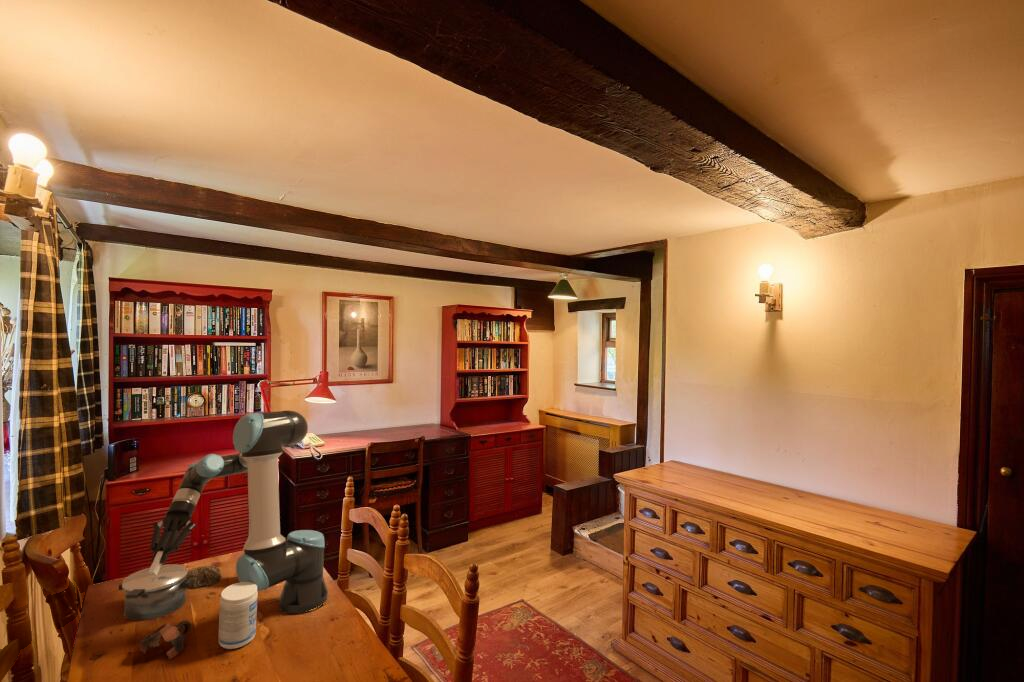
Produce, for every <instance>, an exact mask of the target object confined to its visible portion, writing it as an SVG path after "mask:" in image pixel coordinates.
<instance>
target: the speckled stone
mask: <svg viewBox="0 0 1024 682" xmlns="http://www.w3.org/2000/svg"><path fill="white" fill-rule="evenodd" d="M222 577H223V575H222V573H221V570H220V568H219V567H218V566H216V565H211V566H210V565H205V566H204V565H203V566H197V567H195V568H192V569H188V572H187V576H186V579H194V583H193V585H192V586H190V587H189V588H188V589H197V588H199V587H202V586H203V587H204V586H207V587H210V586H212V585H215V584H216V583H218V581H220V580H221V579H222ZM217 580H218V581H217Z"/></svg>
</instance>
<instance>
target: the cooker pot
mask: <svg viewBox="0 0 1024 682" xmlns="http://www.w3.org/2000/svg"><path fill="white" fill-rule="evenodd" d="M193 583H194V579H186V578H185V579H183V580H182V581H180V582H179V583H177V584H175V585H173V586H170V587H167V588H164V589H161V590H157V591H152V592H145V593H143V594H142V595H141V596H139V597H138V598H130V599H126V595H127V594H129V593H130V592H126V591H124V590H123V589H122V582H121V583H120V584H119V585H118V587H117V588H118V589H117V590H118V591H124V606H123V607H124V610H123V616H124V615H125V616H124V618H125V617H126V618H125V619H126V620H129V619H130V621H134V620H136V621H137V620H142V621H149V620H148V619H150V620H155V619H158V618H161V617H165V616H167V615H169V614H172V613H174V612H176V611H177V610H179V609H180V608H182V607H183V606H184V604H185V602H186V597H187V595H186V593H187V589H190V588H189V587H190V586H192V585H193ZM154 618H155V619H154ZM136 621H135V622H136ZM137 622H138V621H137Z"/></svg>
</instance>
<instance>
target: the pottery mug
mask: <svg viewBox="0 0 1024 682" xmlns="http://www.w3.org/2000/svg"><path fill="white" fill-rule="evenodd" d="M183 627H184V629H183V632H182V633H181V629H182V628H183ZM191 629H192V623H191V622H190V621H189V620H182V621H180V622H179V623H177V624H175V625H171V623H170V622H167V623H165V624H163V625H161V626H159V627H158V628H156V629H154V631H153V632H154V634H153V635H151V633H149V634H148V635H146V636H145V637H144V638H143V639H142V640H141V641H140V642H139V645H141V647H140V652H143V653H144V654H146V653H147V649H148V647H150V648H153V649H156V647H159V646H160V644H159V642H160V639H161V637H162V638H163V641H165V642H167V643H169V642H170V643H171V644H172V648H170V649H169V650H168V651H166V656H167V658H168V659H169V660H172V659H173V658H175V657H176V656H177V655H178V654H179V653H181V652H182V650H184V648H185V647H184V640H185V639H186V637H187V636H188V635H189V633H190V632H191Z"/></svg>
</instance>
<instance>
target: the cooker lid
mask: <svg viewBox="0 0 1024 682" xmlns="http://www.w3.org/2000/svg"><path fill="white" fill-rule="evenodd" d="M150 568H151V566H150V567H147V568H143V569H140V570H138V571H134V572H133V573H130V574H129V575H128V576H125V578H124V579H123V580H122V582H121V583H122V589H123V590H122V591H124V592H125V591H126V592H130V593H129V594H127V595H126V599H130V598H138V597H139V596H141V595H142V594H143V593H145V592H152V591H157V590H161V589H164V588H167V587H170V586H173V585H175V584H177V583H179V582H180V581H182V580H183V579H185V578H186V576H187V572H188V571H189V569H188V567H187V566H185V565H182V564H175V563H174V564H173V563H171V564H162V565H161V567H160V569H159V571H158V574H157V575H151V574H150V573H149V570H150Z"/></svg>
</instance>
